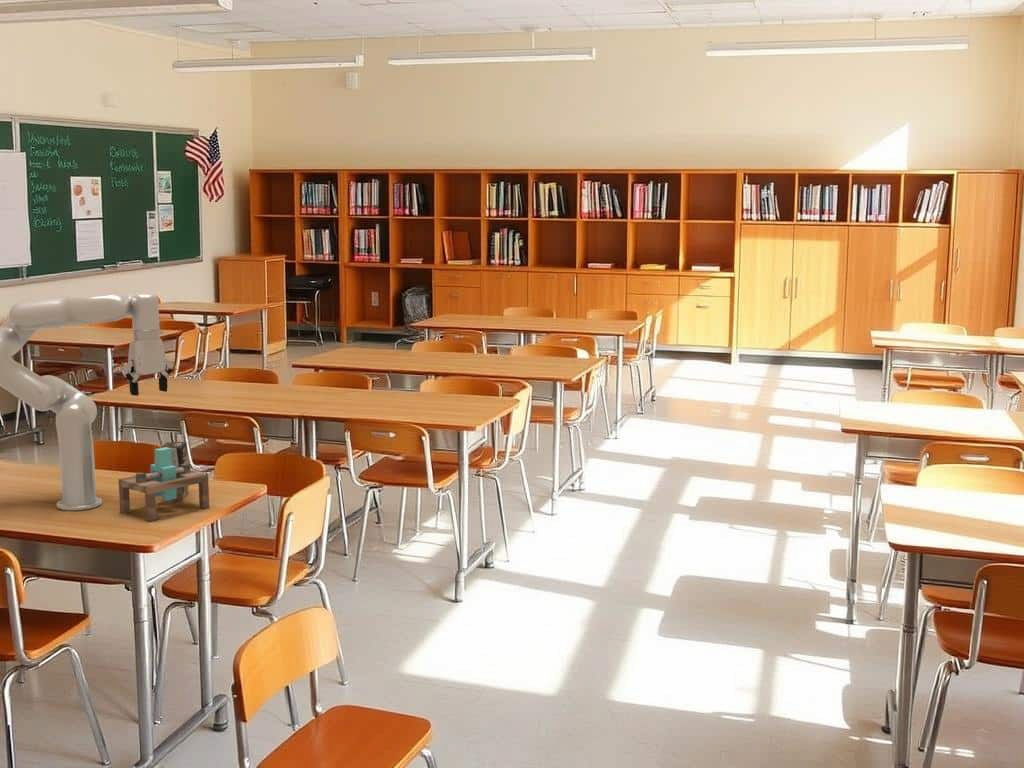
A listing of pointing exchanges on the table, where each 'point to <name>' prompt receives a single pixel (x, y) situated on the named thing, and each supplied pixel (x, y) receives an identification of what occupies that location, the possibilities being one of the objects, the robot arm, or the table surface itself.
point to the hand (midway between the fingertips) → (149, 393)
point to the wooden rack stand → (162, 488)
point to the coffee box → (178, 457)
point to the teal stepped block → (164, 471)
